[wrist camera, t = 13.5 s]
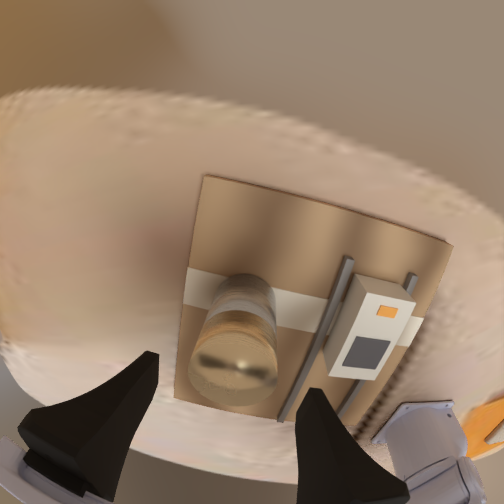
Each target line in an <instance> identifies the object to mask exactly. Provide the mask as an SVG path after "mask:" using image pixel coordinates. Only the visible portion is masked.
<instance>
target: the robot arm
mask: <svg viewBox="0 0 504 504" xmlns="http://www.w3.org/2000/svg"><path fill="white" fill-rule="evenodd" d="M158 376H159V354H157V353H154V352H150V351H145V352H144V353H143V354H142V355H141V356H140V357H138V358H137V359H136V360H135V361H134V362H132V363H131V364H130V365H129V366H128V367H126V368H125V369H124V370H122V371H121V372H120V373H118V374H117V375H116V376H114V377H113V378H111V379H110V380H108V381H107V382H105V383H103V384H102V385H100V386H98V387H97V388H95V389H93V390H91V391H89V392H87V393H85V394H83V395H80V396H78V397H76V398H73V399H71V400H68V401H65V402H62V403H59V404H55V405H52V406H47V407H42V408H36V409H32V410H31V411H30V412H29V413H28V414H27V415H26V416H25V418H24V419H23V420H22V422H21V423H20V425H19V426H18V432H19V434H20V436H21V437H22V438H23V440H24V441H25V443H26V444H27V446H28V447H29V448H30V449H29V450H28V452H25V450H24V449H22V448H21V447H20V446H19V445H17V444H16V443H15V442H13V441H12V440H11V439H9V438H8V437H7V436H3V437H2V439H1V440H0V485H1V486H2V487H3V488H4V489H5V490H7V491H8V492H9V493H10V494H12V495H13V496H14V497H16V498H17V499H18V500H20V501H21V502H22V503H24V504H114V503H112V502H113V501H114V497H115V492H116V489H117V485H118V481H119V478H120V474H121V471H122V468H123V465H124V461H125V458H126V455H127V452H128V450H129V447H130V444H131V441H132V439H133V437H134V434H135V432H136V430H137V428H138V426H139V424H140V422H141V421H142V419H143V417H144V415H145V413H146V411H147V409H148V407H149V405H150V403H151V401H152V399H153V396H154V393H155V391H156V388H157V385H158ZM453 405H454V401H444V402H428V403H404V404H402V405H401V406H400V407H399V408H398V409H397V411H396V412H395V413H394V414H393V416H392V417H391V418H390V419H389V421H388V422H387V423H386V424H385V425H384V427H383V428H382V429H381V430H380V431H379V432H378V434H377V435H376V436H375V437H374V438H373V439H372V441H371V442H372V444H381V443H387V446H388V449H389V452H390V456H391V459H392V462H393V466H394V469H395V473H396V476H397V477H395V476H394V475H392V474H391V473H389V472H388V471H387V470H385V469H384V468H383V467H381V466H380V465H379V464H378V463H376V462H375V461H374V460H373V459H372V458H371V457H370V456H369V455H368V454H367V453H366V452H365V451H364V450H363V449H362V448H361V447H360V446H359V445H358V443H357V442H356V441H355V440H354V439H353V437H352V436H351V435H350V433H349V432H348V431H347V429H346V428H345V427H344V425H343V424H342V422H341V420H340V419H339V417H338V416H337V414H336V412H335V411H334V409H333V407H332V406H331V404H330V402H329V401H328V399H327V397H326V395H325V394H324V392H323V390H322V389H321V388H313V387H310V388H309V389H308V391H307V393H306V395H305V397H304V399H303V401H302V403H301V404H300V406H299V408H298V410H297V412H296V422H295V435H296V446H297V458H298V491H297V503H296V504H486V500H487V498H486V495H485V493H484V487H483V484H482V480H481V478H480V475H479V473H478V471H477V469H476V467H475V465H474V464H473V462H472V460H471V459H470V458H469V457H465V455H466V453H467V445H468V444H467V438H466V435H465V433H464V432H463V430H462V428H461V426H460V424H459V422H458V420H457V418H456V416H455V414H454V413H453V411H452V409H451V408H452V406H453Z"/></svg>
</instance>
